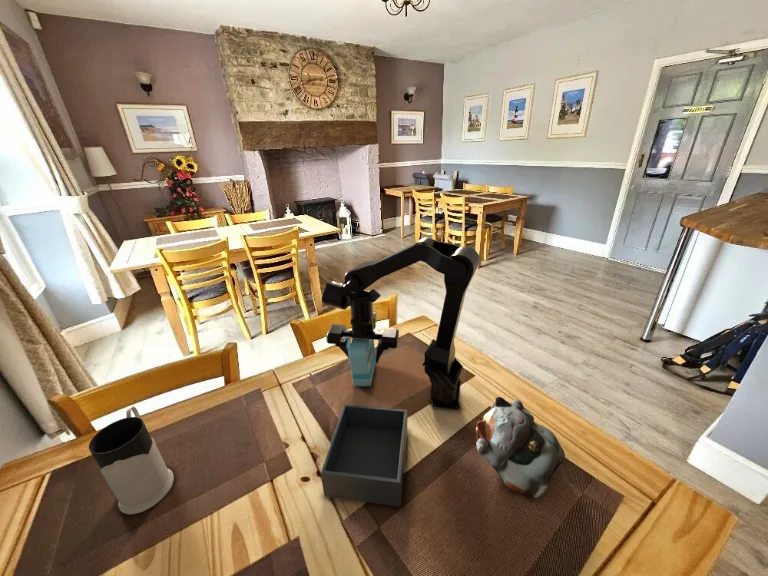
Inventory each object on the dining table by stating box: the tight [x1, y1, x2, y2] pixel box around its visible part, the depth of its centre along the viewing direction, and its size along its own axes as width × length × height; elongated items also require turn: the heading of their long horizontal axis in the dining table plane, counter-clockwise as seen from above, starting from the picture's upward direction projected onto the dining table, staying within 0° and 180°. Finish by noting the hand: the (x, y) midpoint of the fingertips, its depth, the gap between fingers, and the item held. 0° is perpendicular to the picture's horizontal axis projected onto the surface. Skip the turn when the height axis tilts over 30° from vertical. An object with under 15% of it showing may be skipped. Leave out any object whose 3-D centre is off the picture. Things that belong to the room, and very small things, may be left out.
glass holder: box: [88, 405, 175, 515], centre depth 59 cm, size 9×14×15 cm, turn 27°
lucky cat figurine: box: [475, 396, 566, 499], centre depth 61 cm, size 15×12×14 cm
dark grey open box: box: [320, 404, 408, 508], centre depth 62 cm, size 14×16×7 cm
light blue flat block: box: [348, 339, 377, 387], centre depth 85 cm, size 12×4×12 cm, turn 174°
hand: (364, 361), depth 86 cm, fingers closed on light blue flat block, 7 cm apart
